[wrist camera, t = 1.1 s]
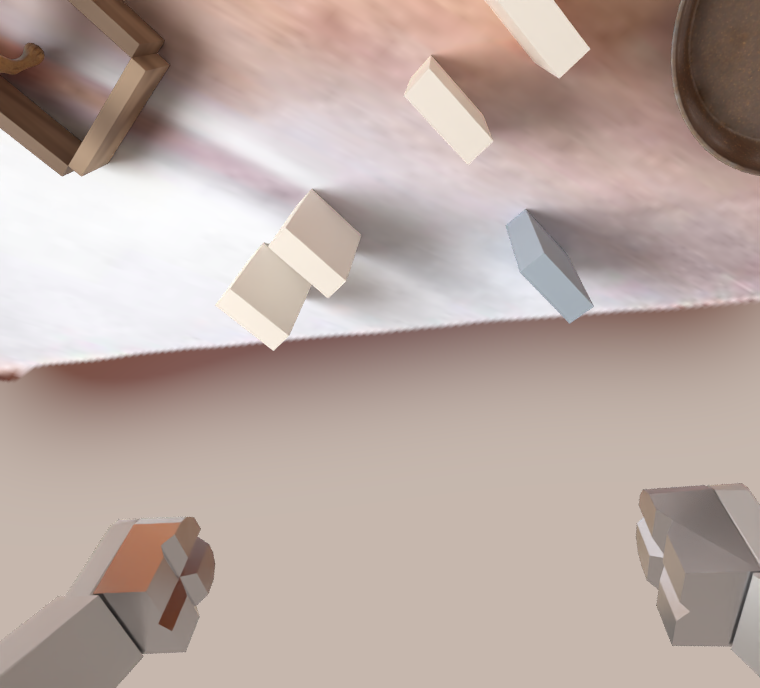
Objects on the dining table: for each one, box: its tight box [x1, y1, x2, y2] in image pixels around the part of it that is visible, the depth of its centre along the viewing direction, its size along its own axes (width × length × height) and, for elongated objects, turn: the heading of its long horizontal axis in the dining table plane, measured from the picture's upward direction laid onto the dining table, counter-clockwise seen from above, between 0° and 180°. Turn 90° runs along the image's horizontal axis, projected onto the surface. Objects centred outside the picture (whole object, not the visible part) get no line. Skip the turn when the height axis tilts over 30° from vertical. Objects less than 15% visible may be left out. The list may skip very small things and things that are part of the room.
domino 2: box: [268, 189, 361, 298], centre depth 37 cm, size 2×5×8 cm, turn 46°
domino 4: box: [485, 0, 590, 79], centre depth 29 cm, size 2×5×8 cm, turn 46°
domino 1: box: [215, 243, 312, 350], centre depth 39 cm, size 2×5×8 cm, turn 47°
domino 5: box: [506, 209, 594, 323], centre depth 36 cm, size 2×5×8 cm, turn 46°
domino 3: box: [404, 56, 493, 165], centre depth 31 cm, size 2×5×8 cm, turn 47°
